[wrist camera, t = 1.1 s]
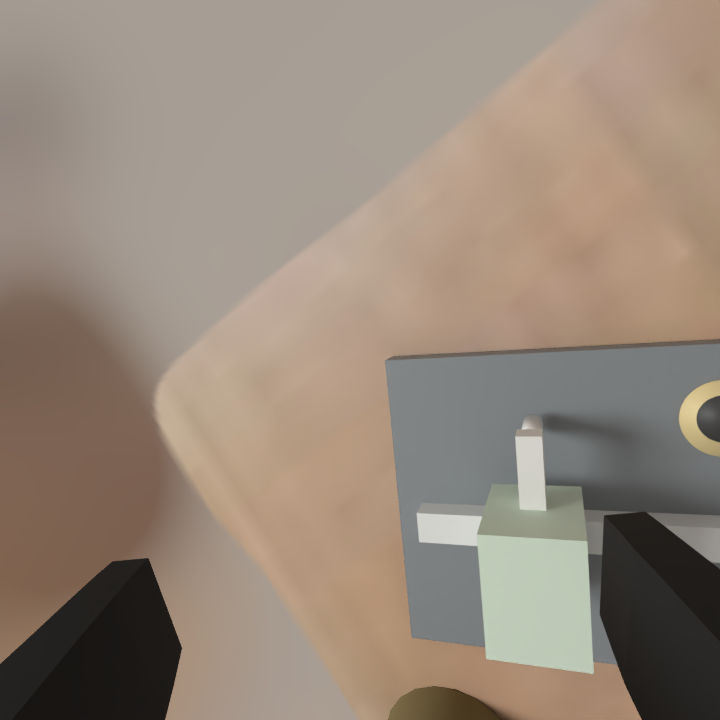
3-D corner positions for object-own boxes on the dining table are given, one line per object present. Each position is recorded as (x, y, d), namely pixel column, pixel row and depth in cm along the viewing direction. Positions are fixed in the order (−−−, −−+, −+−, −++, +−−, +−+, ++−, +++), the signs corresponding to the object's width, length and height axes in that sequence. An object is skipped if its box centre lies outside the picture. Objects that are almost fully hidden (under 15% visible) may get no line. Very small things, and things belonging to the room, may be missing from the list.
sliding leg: (585, 582, 20) (593, 673, 16) (501, 575, 21) (485, 658, 17) (577, 412, 19) (583, 457, 15) (489, 413, 20) (471, 455, 16)
